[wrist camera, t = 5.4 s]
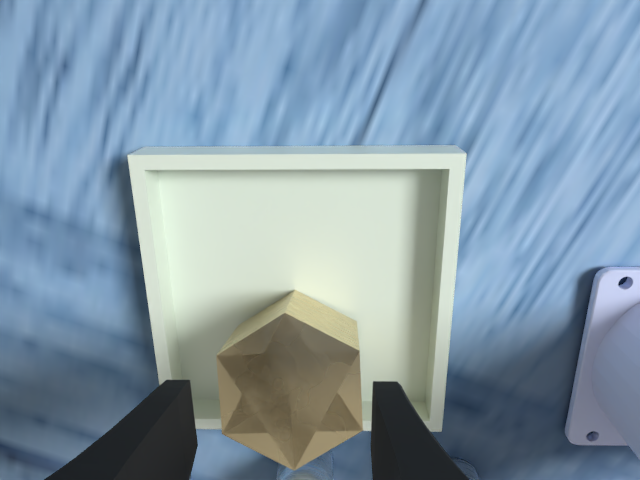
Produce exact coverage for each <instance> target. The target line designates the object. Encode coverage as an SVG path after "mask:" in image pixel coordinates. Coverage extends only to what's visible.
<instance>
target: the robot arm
mask: <svg viewBox="0 0 640 480" xmlns="http://www.w3.org/2000/svg"><path fill="white" fill-rule="evenodd" d="M623 277H627V280H626V282H625V283H624V284H622V285H618V283H619V281H620V279H622V278H623ZM592 431H594V432H593V433H592V434H590V435H587V434H588V433H590V432H592ZM565 435H566V436H567V438H568V440H569V441H570V442H571V443H572V444H575V445H609V446H629V447H630V448H631V449H632V451H633V452H634V453H635V455H636V456H637V457H638V459H639V460H640V267H606V268H603V269H601V270H599V271H598V272H597V273H596V275H595V277H594V280H593V285H592V290H591V296H590V301H589V306H588V311H587V317H586V322H585V327H584V332H583V338H582V343H581V348H580V353H579V359H578V364H577V369H576V374H575V380H574V385H573V390H572V395H571V401H570V406H569V411H568V416H567V421H566V427H565ZM197 445H198V444H197V435H196V427H195V418H194V409H193V401H192V392H191V383H190V380H166V381H164V382H163V383H162V384H161V385H160V386H159V387H158V388H156V389H155V390H154V391H153V392H152V393H151V394H150V395H149V396H148V397H147V398H145V399H144V400H143V401H142V402H141V403H140V404H139V405H138V406H137V407H136V408H134V409H133V410H132V411H131V412H130V413H129V414H128V415H127V416H125V417H124V418H123V419H122V420H121V421H120V422H119V423H117V424H116V425H115V426H114V427H113V428H112V429H111V430H109V431H108V432H107V433H106V434H104V435H103V436H102V437H101V438H99V439H98V440H97V441H96V442H94V443H93V444H92V445H91V446H89V447H88V448H87V449H86V450H84V451H83V452H82V453H81V454H80V455H78V456H77V457H76V458H74V459H73V460H72V461H70V462H69V463H68V464H66V465H65V466H63V467H62V468H61V469H59V470H58V471H56V472H55V473H53V474H52V475H50V476H49V477H47V478H46V479H44V480H189V478H190V475H191V471H192V467H193V462H194V458H195V454H196V450H197ZM371 459H372V474H373V480H470V479H469V478H468V477H467V476H466V475H465V474H464V473H463V472H462V471H461V469H460V468H459V467H458V466H457V465H456V464H455V462H454V461H453V460H452V459H451V458H450V456H449V455H448V454H447V453H446V452H445V450H444V449H443V448H442V447H441V445H440V444H439V443H438V441H437V440H436V439H435V437H434V436H433V435H432V433H431V432H430V430H429V429H428V428H427V426H426V425H425V424H424V422H423V421H422V419H421V418H420V416H419V415H418V413H417V412H416V410H415V408H414V407H413V405H412V404H411V402H410V400H409V399H408V397H407V395H406V393H405V392H404V390H403V388H402V386H401V385H400V384H399V383H398V382H397V381H373V390H372V422H371Z"/></svg>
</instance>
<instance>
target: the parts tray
mask: <svg viewBox="0 0 640 480" xmlns="http://www.w3.org/2000/svg"><path fill="white" fill-rule="evenodd" d="M466 154H467V153H465V152H464V151H463V150H461V149H460V148H459V147H457V146H456V145H389V146H192V147H143V148H141V149H139V150H137V151H135V152H133V153H130V154H128V155H127V157H128V164H129V171H130V178H131V185H132V192H133V200H134V207H135V214H136V221H137V228H138V235H139V242H140V250H141V257H142V264H143V271H144V278H145V285H146V293H147V300H148V307H149V314H150V321H151V328H152V335H153V343H154V350H155V357H156V364H157V371H158V378H159V385H161V384H162V383H163V382H164V381H166V380H190V383H191V392H192V401H193V409H194V418H195V427H196V429H222V426H221V413H220V400H219V386H218V373H217V360H216V355H217V354H218V352H219V351H220V350H221V348H222V347H223V345H224V344H225V343H226V341H227V340H228V339H229V337H230V336H231V334H232V333H233V332H234V330H235V329H236V328H237V326H238V325H240V324H241V323H243V322H244V321H246V320H248V319H249V318H251V317H252V316H254V315H256V314H257V313H259V312H260V311H262V310H264V309H265V308H267V307H268V306H270V305H271V304H273V303H275V302H276V301H278V300H279V299H281V298H283V297H284V296H286V295H287V294H289V293H291V292H292V291H294V290H297V291H299V292H301V293H303V294H305V295H307V296H309V297H310V298H312V299H314V300H316V301H318V302H320V303H322V304H324V305H326V306H328V307H330V308H332V309H334V310H336V311H338V312H340V313H342V314H344V315H345V316H347V317H349V318H351V319H353V320H355V321H357V328H358V339H359V349H360V372H361V396H362V420H363V431H371V422H372V390H373V381H397V382H398V383H399V384H400V385H401V386H402V388H403V390H404V392H405V393H406V395H407V397H408V399H409V400H410V402H411V404H412V405H413V407H414V408H415V410H416V412H417V413H418V415H419V416H420V418H421V419H422V421H423V422H424V424H425V425H426V426H427V428H428V429H429V430H430V432H442V424H443V413H444V401H445V390H446V379H447V368H448V356H449V345H450V334H451V323H452V312H453V300H454V289H455V278H456V267H457V255H458V244H459V233H460V222H461V210H462V199H463V188H464V177H465V165H466Z"/></svg>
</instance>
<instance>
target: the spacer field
mask: <svg viewBox="0 0 640 480" xmlns="http://www.w3.org/2000/svg"><path fill="white" fill-rule="evenodd" d="M451 459H452V460H453V461H454V462H455V464H456V465H457V466H458V467H459V468H460V469H461V471H462V472H463V473H464V474H465V475H466V476H467V477H468V478H469V479H470V480H479V477H478V474H477V472H476V470H475V468H474V467H473V466H472V465H471V464H470V463H468V462H467V461H464V460H461V459H456V458H451ZM189 480H191V475H190V478H189ZM276 480H333V456H332V453H331V451H330V450H329V451H327V452H325V453H324V454H322V455H320V456H319V457H317V458H315V459H313V460H312V461H310V462H308V463H307V464H305V465H303V466H301V467H300V468H298V469H296V470H295V471H294V470H292V469H290V468H288V467H286V466H284V465H282V464H280V463H279V464H278V471H277V478H276Z"/></svg>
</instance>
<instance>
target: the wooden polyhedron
mask: <svg viewBox="0 0 640 480" xmlns="http://www.w3.org/2000/svg"><path fill="white" fill-rule="evenodd" d="M216 360H217V373H218V386H219V400H220V413H221V426H222V434H223V435H225V436H227V437H229V438H231V439H233V440H235V441H237V442H239V443H241V444H243V445H245V446H247V447H249V448H251V449H253V450H255V451H256V452H258V453H260V454H262V455H264V456H266V457H268V458H270V459H272V460H274V461H276V462H278V463H280V464H282V465H284V466H286V467H288V468H290V469H292V470H294V471H295V470H296V469H298V468H300V467H301V466H303V465H305V464H307V463H308V462H310V461H312V460H313V459H315V458H317V457H319V456H320V455H322V454H324V453H325V452H327V451H329V450H331V449H332V448H334V447H336V446H337V445H339V444H341V443H343V442H344V441H346V440H348V439H349V438H351V437H353V436H355V435H356V434H358V433H360V432H361V431H363V420H362V396H361V372H360V349H359V339H358V328H357V321H355V320H353V319H351V318H349V317H347V316H345V315H344V314H342V313H340V312H338V311H336V310H334V309H332V308H330V307H328V306H326V305H324V304H322V303H320V302H318V301H316V300H314V299H312V298H310V297H309V296H307V295H305V294H303V293H301V292H299V291H297V290H294V291H292V292H291V293H289V294H287V295H286V296H284V297H283V298H281V299H279V300H278V301H276V302H275V303H273V304H271V305H270V306H268V307H267V308H265V309H264V310H262V311H260V312H259V313H257V314H256V315H254V316H252V317H251V318H249V319H248V320H246V321H244V322H243V323H241V324H240V325H238V326H237V328H236V329H235V330H234V332H233V333H232V334H231V336H230V337H229V339H228V340H227V341H226V343H225V344H224V345H223V347H222V348H221V350H220V351H219V352H218V354H217V355H216Z"/></svg>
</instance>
